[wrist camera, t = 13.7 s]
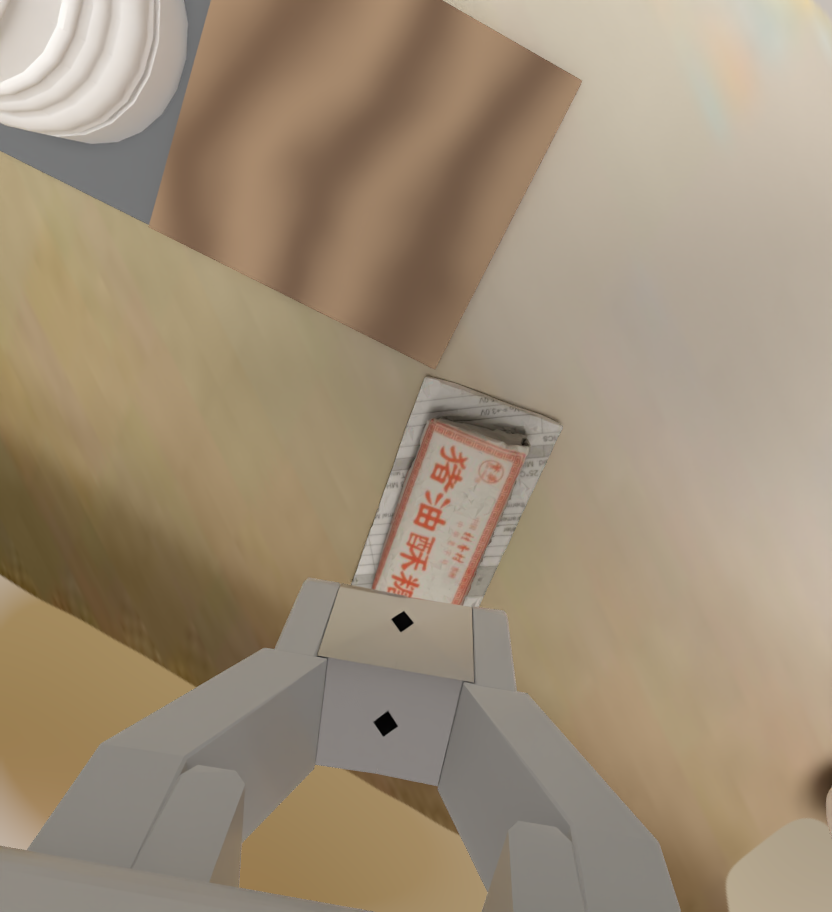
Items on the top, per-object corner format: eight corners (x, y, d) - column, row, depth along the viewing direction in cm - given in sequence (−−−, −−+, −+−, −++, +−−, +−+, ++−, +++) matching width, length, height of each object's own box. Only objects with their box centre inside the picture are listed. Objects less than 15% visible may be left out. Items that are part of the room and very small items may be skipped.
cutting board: (580, 83, 32) (582, 80, 32) (435, 367, 39) (434, 369, 38) (246, -109, 30) (242, -115, 30) (153, 226, 37) (148, 226, 36)
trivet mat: (246, -109, 30) (245, -111, 30) (153, 226, 37) (151, 226, 37) (-57, -283, 28) (-60, -286, 28) (-97, 101, 35) (-100, 101, 35)
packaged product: (470, 659, 42) (340, 617, 42) (469, 617, 47) (352, 579, 46) (574, 442, 36) (420, 389, 35) (561, 418, 40) (425, 370, 40)
